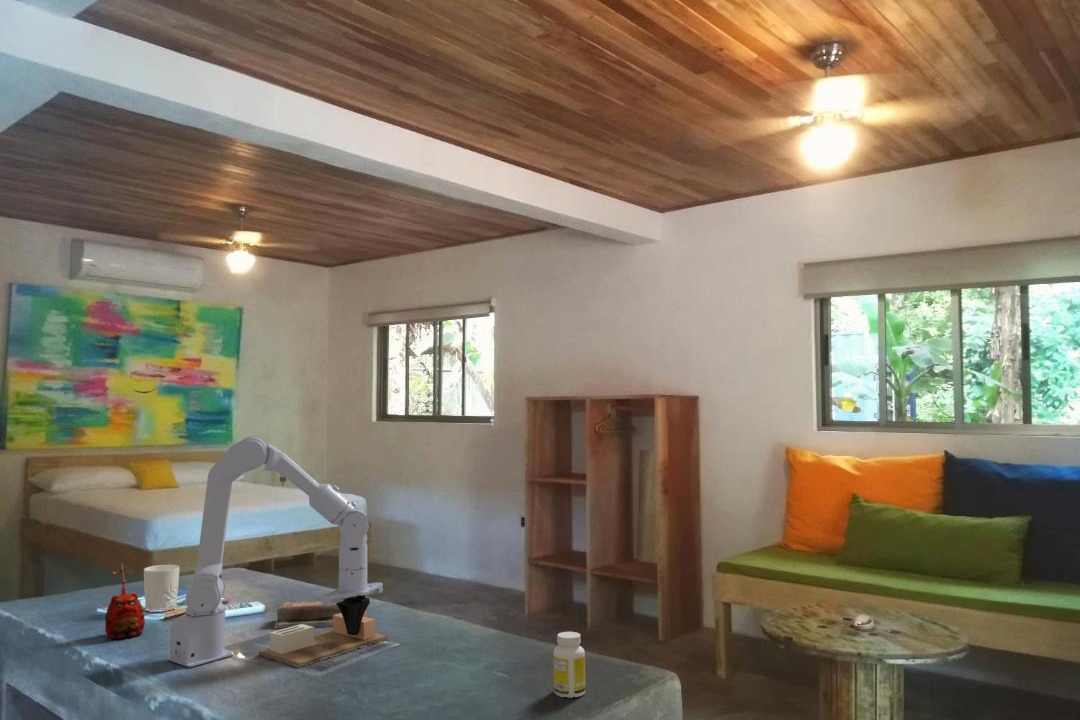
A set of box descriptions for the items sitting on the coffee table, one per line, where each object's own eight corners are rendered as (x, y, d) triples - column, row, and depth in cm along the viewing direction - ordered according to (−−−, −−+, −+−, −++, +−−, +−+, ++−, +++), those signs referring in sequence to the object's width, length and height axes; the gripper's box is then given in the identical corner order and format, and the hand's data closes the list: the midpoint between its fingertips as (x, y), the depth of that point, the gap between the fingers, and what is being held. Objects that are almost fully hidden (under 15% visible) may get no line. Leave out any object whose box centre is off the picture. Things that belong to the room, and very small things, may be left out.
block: (364, 639, 165) (364, 622, 165) (332, 631, 171) (332, 614, 171) (385, 633, 170) (386, 615, 170) (354, 625, 176) (354, 608, 176)
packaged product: (274, 609, 177) (281, 598, 187) (273, 631, 177) (281, 619, 186) (357, 605, 180) (360, 595, 189) (357, 627, 179) (360, 615, 189)
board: (299, 667, 151) (299, 663, 151) (258, 655, 158) (258, 650, 158) (387, 639, 168) (387, 635, 168) (346, 629, 176) (346, 625, 176)
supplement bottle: (584, 687, 140) (583, 630, 140) (586, 698, 134) (586, 639, 135) (552, 687, 139) (552, 630, 140) (554, 699, 134) (554, 639, 135)
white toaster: (282, 654, 156) (282, 635, 157) (270, 650, 159) (270, 631, 159) (314, 644, 162) (314, 626, 163) (301, 641, 165) (301, 623, 165)
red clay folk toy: (108, 642, 167) (110, 570, 168) (101, 635, 173) (102, 565, 173) (147, 636, 172) (149, 565, 173) (139, 629, 178) (141, 560, 178)
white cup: (145, 606, 197) (146, 565, 197) (180, 604, 199) (181, 563, 200) (140, 615, 189) (141, 572, 190) (176, 612, 192) (177, 569, 192)
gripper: (337, 576, 158) (337, 646, 157) (392, 563, 169) (392, 629, 169) (315, 571, 162) (314, 640, 161) (370, 560, 174) (369, 623, 173)
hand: (352, 634), depth 165 cm, fingers closed
